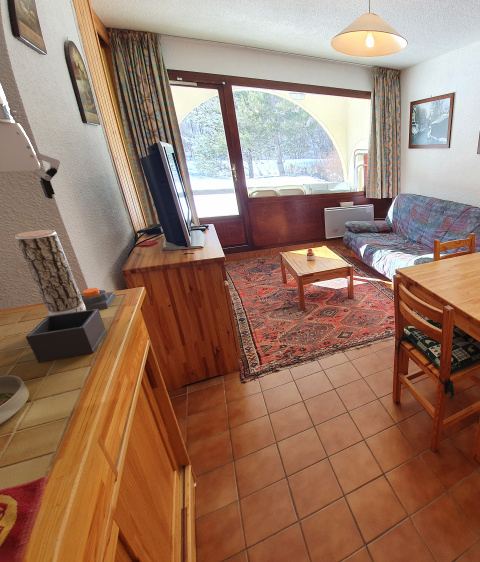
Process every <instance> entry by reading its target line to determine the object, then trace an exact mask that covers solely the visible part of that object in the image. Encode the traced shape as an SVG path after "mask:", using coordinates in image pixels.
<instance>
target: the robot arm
mask: <svg viewBox="0 0 480 562" xmlns="http://www.w3.org/2000/svg"><path fill="white" fill-rule="evenodd" d="M4 92H5V91H4V89H3V87H2V83H0V174H16V173H17V174H18V173H19V174H21V173H22V174H23V173H32V174H34V175H36V176H37V177H39V178H40V180H39V183H40V186H41V188H42V192H43V194H44V196H45V198H46V199H48V200H51V199H52V200H53V199H54V198H53V195H56V194H55V190H54V188H53V184H52V182H51V181H52V179H54V177H55V175H56V174H57V173H58V170H59V168H60V165H61V161H60V160H59V159H56V158H53V157H50V156H48V155H45V154H42V153H40V152H37V151H35V150H34V148H33V145H32V144H31V143H32V142H31V141H30V139H29V137H28V135H27V134H26V132H25V130H24V128H23V127H22V125H21V124H20V123H18V122H15V121H16V120H15V119H18V118H23V114H22V112H21V110H18V109H17V110H15V109H13V108H12V107H11V106H10V105H9V103H8V100H7V98H6V95H5V93H4ZM39 161H43V162H45V163H48V164H49V168H48V169H47V170H46V171H45V172H44V171H43V170H42V169H41V164H40V162H39Z"/></svg>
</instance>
